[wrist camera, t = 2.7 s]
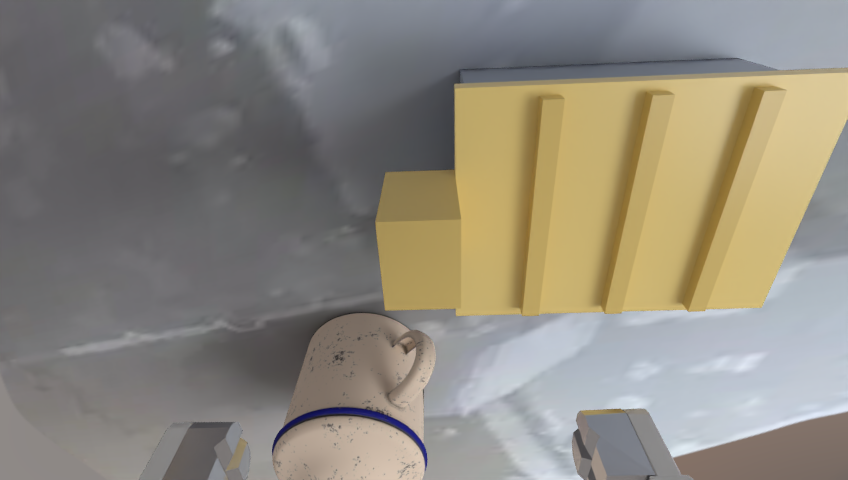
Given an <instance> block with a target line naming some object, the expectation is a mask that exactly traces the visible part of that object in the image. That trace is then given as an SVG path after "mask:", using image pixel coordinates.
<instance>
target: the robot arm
mask: <svg viewBox="0 0 848 480" xmlns="http://www.w3.org/2000/svg"><path fill="white" fill-rule="evenodd" d="M576 422H577V425H578V429H577V430H576V431H575V432H574V433H573V439H572V450H573V457H574V462H575V466H576V469H577V473H578V474H579V475H580V476H581V477H582V478H583V479H584V480H694V479H692V478H691V477H690V476H688V475H681V473H680V471H679V469H678V467H677V466H676V464H675V462H674V460H673V458H672V456H671V454H670V452H669V450H668V448H667V446H666V445H665V443H664V441H663V439H662V437H661V435H660V433H659V431H658V429H657V427H656V425H655V424H654V422H653V420H652V418H651V416H650V414H649V412H647V411H646V410H645V409H623V410H621V409H606V410H585V411H579V413H578V414H577V418H576ZM242 431H243V430H242V428H241V426H240V424H239V422H188V423H173V424H172V425H171V426H170V427H169V428H168V429H167V430H166V432H165V433H164V435H163V437H162V439H161V441H160V442H159V444H158V446H157V448H156V449H155V451H154V453H153V455H152V457H151V458H150V460H149V462H148V464H147V466H146V467H145V469H144V471H143V473H142V474H141V476H140V478H139V480H246V479H247V475H248V472H249V467H250V459H251V456H250V448H249V445H248V443H247V442H246V441H245V440H243V439H242V438H240V437H241V434H242Z"/></svg>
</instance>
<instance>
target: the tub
mask: <svg viewBox="0 0 848 480" xmlns="http://www.w3.org/2000/svg"><path fill="white" fill-rule="evenodd" d="M754 71H778V70H777V69H773V68H770V67H766V66H763V65H760V64H756V63H753V62H749V61H746V60H742V59H739V58H726V59H702V60H678V61H654V62H630V63H606V64H582V65H558V66H534V67H510V68H486V69H462V70H460V83H484V82H509V81H533V80H558V79H582V78H607V77H631V76H656V75H680V74H705V73H729V72H754Z"/></svg>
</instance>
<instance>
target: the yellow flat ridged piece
mask: <svg viewBox="0 0 848 480" xmlns="http://www.w3.org/2000/svg"><path fill="white" fill-rule="evenodd" d="M847 119H848V68H827V69H803V70H778V71H754V72H729V73H705V74H680V75H656V76H631V77H607V78H582V79H558V80H533V81H509V82H484V83H460V84H454V170H430V171H402V172H385V177H384V182H383V187H382V192H381V197H380V202H379V206H378V211H377V216H376V221H375V225H376V233H377V242H378V251H379V260H380V269H381V278H382V287H383V296H384V305H385V311H387V310H423V309H456V316H470V315H507V314H522V316H539V314H544V313H582V312H604V313H605V314H616V313H622V311H656V310H687V311H688V312H691V311H705V310H706V309H730V308H762V305H763V303H764V301H765V299H766V297H767V294H768V292H769V290H770V288H771V286H772V283H773V281H774V279H775V277H776V275H777V273H778V270H779V268H780V266H781V264H782V262H783V259H784V257H785V255H786V253H787V251H788V248H789V246H790V244H791V242H792V240H793V237H794V235H795V233H796V231H797V229H798V226H799V224H800V222H801V220H802V218H803V215H804V213H805V211H806V209H807V207H808V204H809V202H810V200H811V198H812V196H813V193H814V191H815V189H816V187H817V185H818V182H819V180H820V178H821V176H822V174H823V171H824V169H825V167H826V165H827V163H828V160H829V158H830V156H831V154H832V152H833V149H834V147H835V145H836V143H837V141H838V138H839V136H840V134H841V132H842V130H843V127H844V125H845V123H846V121H847Z"/></svg>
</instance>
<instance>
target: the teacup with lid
mask: <svg viewBox="0 0 848 480" xmlns="http://www.w3.org/2000/svg"><path fill="white" fill-rule="evenodd" d="M434 365H435V347H434V344H433V342H432V340H431V339H430V338H429V337H428V336H427V335H426V334H424V333H422V332H420V331H418V330H411V331H410V330H409V329H408V328H407V327H405V326H404V325H402V324H401V323H399V322H397V321H395V320H393V319H391V318H388V317H385V316H382V315H377V314H371V313H354V314H348V315H343V316H340V317H337V318H334V319H332V320H330V321H329V322H327V323H325V324H324V325H323V326H321V327H320V328H319V329H318V330H317V331H316V333H315V334H314V335H313V337H312V339H311V341H310V343H309V346H308V350H307V353H306V356H305V359H304V362H303V365H302V369H301V372H300V375H299V378H298V381H297V384H296V388H295V391H294V394H293V397H292V400H291V403H290V407H289V410H288V413H287V416H286V419H285V422H284V426H283V428H282V429H281V430H280V431H279V433H278V434H277V436H276V438H275V440H274V443H273V448H272V456H273V466H274V469H275V472H276V475H277V476H278V478H279V480H422V478H423V475H424V472H425V470H426V466H427V453H426V449H425V447H424V444H423V423H424V387H425V386H426V384H427V383H428V381H429V379H430V377H431V375H432V372H433V369H434Z"/></svg>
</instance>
